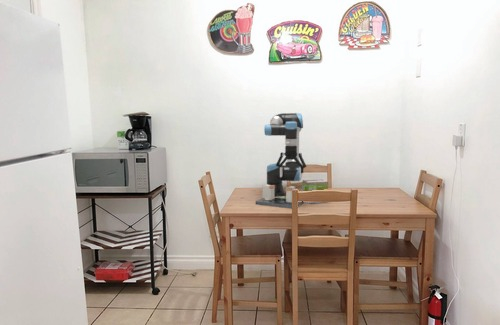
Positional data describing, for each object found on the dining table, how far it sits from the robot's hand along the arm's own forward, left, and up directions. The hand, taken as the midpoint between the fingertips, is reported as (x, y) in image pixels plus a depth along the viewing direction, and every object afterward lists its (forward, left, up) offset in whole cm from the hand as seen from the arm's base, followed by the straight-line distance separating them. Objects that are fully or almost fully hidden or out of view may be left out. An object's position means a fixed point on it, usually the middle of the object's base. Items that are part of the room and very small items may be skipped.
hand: (290, 177), depth 230 cm
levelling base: (0, -8, -19) cm, 20 cm away
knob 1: (0, -16, -17) cm, 23 cm away
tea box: (-16, +12, -19) cm, 28 cm away
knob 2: (0, 0, -17) cm, 17 cm away
